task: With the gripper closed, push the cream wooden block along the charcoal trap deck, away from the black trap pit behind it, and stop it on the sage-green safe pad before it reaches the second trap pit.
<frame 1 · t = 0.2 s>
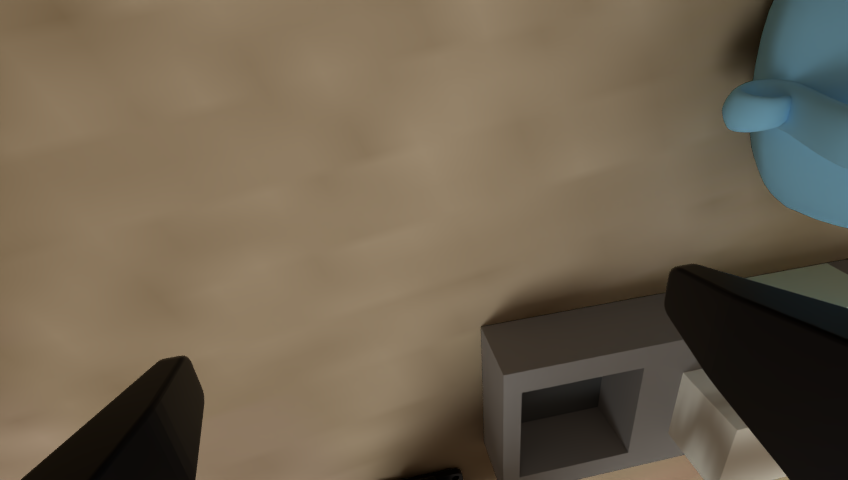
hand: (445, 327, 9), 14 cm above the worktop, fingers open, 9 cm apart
trap deck: (724, 340, 32), on the worktop
cream block: (713, 395, 28), point 4 cm above the worktop, touching trap deck
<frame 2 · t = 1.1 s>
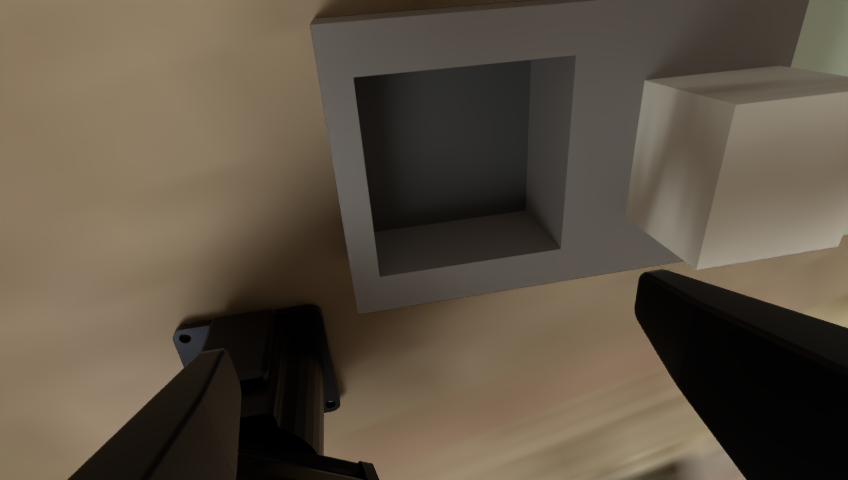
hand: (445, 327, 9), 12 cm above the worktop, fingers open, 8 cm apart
trap deck: (717, 109, 21), on the worktop
cream block: (697, 144, 17), point 4 cm above the worktop, touching trap deck
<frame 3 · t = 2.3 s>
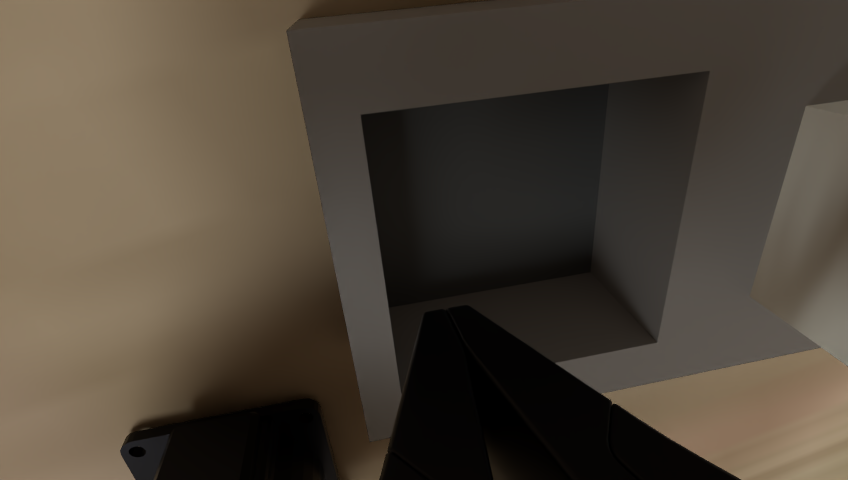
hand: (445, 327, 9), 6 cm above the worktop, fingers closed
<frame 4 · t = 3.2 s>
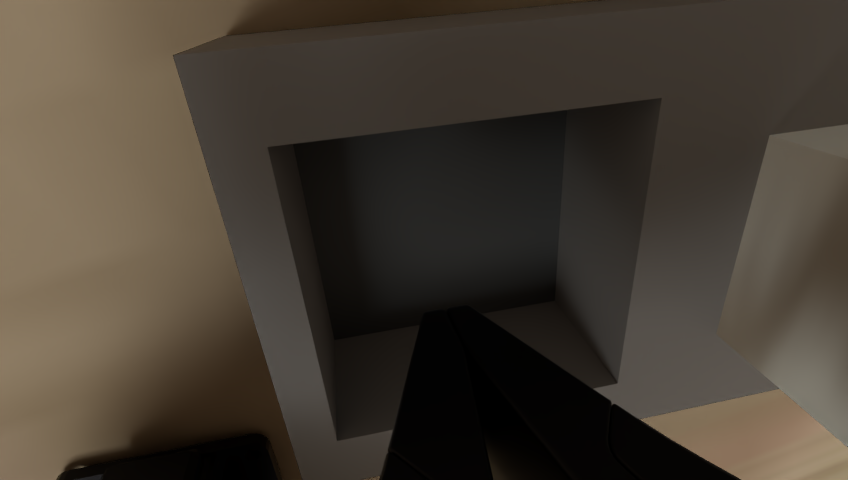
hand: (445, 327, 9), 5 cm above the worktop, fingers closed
trap deck: (827, 155, 15), on the worktop
cream block: (837, 228, 11), point 4 cm above the worktop, touching trap deck
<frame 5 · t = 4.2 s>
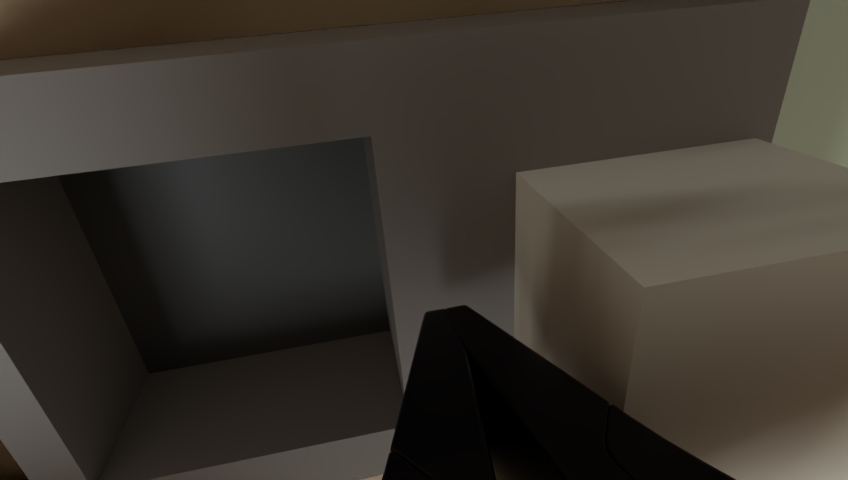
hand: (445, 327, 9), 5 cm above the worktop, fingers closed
trap deck: (670, 179, 14), on the worktop
cream block: (624, 265, 10), point 4 cm above the worktop, touching gripper, trap deck
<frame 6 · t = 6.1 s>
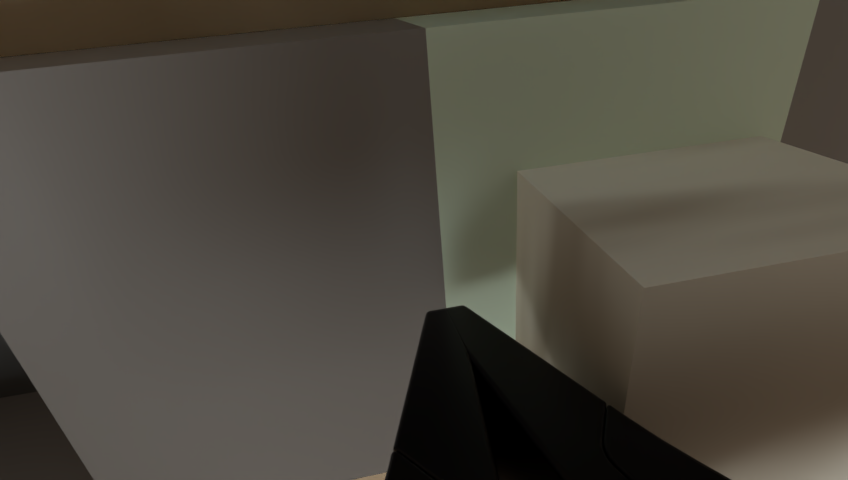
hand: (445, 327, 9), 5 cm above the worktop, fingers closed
trap deck: (449, 210, 13), on the worktop
cream block: (627, 265, 10), point 4 cm above the worktop, touching gripper, trap deck
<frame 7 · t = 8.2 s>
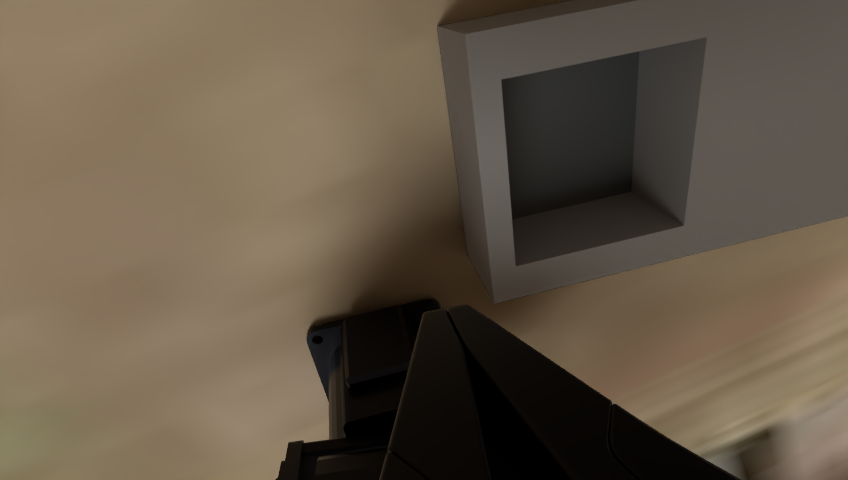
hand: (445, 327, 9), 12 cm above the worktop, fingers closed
trap deck: (817, 75, 21), on the worktop
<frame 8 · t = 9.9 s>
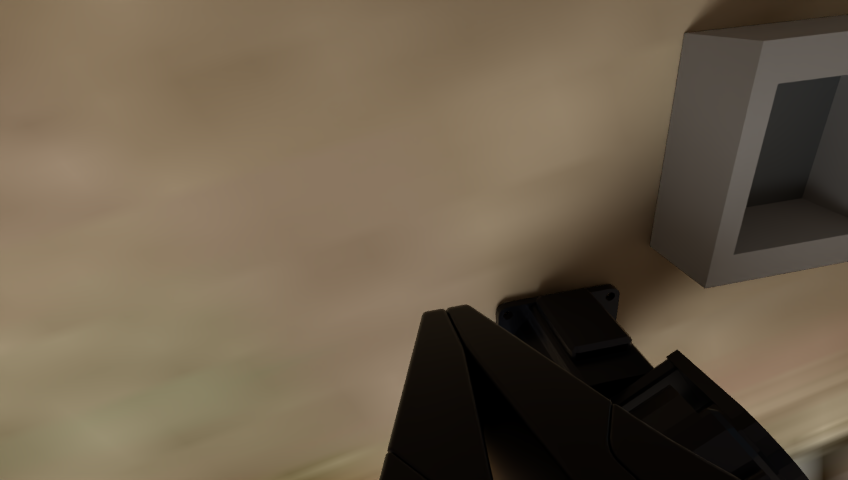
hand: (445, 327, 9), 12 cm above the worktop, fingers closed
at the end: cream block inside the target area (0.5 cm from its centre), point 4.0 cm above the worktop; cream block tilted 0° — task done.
